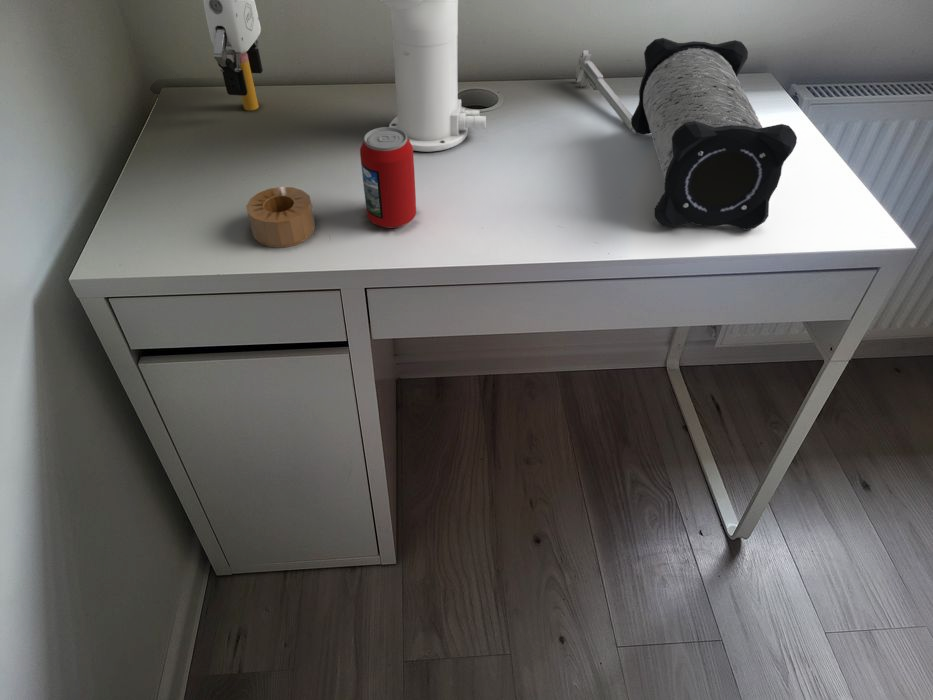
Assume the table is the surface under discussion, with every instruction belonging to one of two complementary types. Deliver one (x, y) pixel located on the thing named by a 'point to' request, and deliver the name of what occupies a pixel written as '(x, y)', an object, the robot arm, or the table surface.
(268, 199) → the brown wooden ring
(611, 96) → the caliper
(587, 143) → the table surface
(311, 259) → the table surface
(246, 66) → the pencil
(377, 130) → the beverage can
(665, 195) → the speaker
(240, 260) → the table surface
